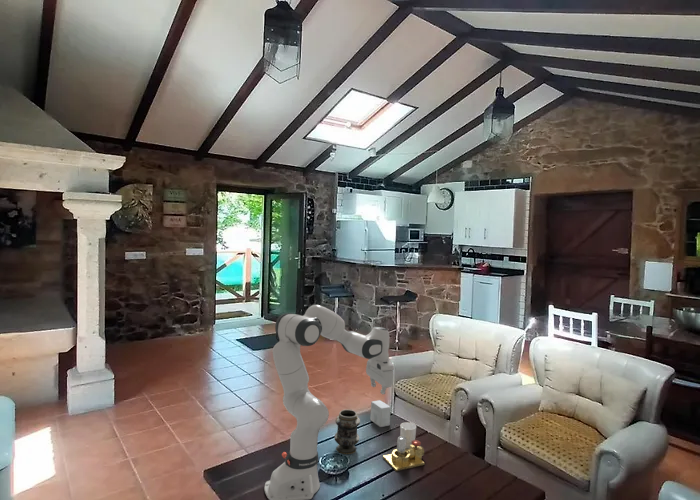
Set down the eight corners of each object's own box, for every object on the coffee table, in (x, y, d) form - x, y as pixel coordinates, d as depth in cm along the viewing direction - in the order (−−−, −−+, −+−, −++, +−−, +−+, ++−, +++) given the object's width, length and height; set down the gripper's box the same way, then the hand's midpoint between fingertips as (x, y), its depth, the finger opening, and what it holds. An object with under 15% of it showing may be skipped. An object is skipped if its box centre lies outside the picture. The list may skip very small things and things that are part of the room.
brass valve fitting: (395, 471, 195) (396, 454, 194) (382, 457, 206) (383, 441, 205) (428, 463, 202) (429, 447, 202) (414, 451, 213) (415, 435, 212)
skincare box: (390, 425, 239) (391, 406, 239) (380, 427, 236) (381, 408, 236) (379, 417, 249) (380, 399, 248) (369, 419, 245) (370, 401, 245)
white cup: (397, 446, 217) (397, 426, 216) (402, 439, 224) (403, 420, 223) (412, 451, 213) (413, 431, 212) (417, 444, 220) (418, 424, 219)
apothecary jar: (358, 456, 206) (360, 419, 205) (333, 455, 206) (334, 417, 205) (358, 443, 218) (360, 408, 217) (334, 442, 218) (335, 407, 217)
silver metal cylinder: (399, 462, 200) (400, 441, 200) (394, 458, 204) (395, 437, 203) (406, 461, 202) (408, 439, 201) (402, 456, 205) (403, 435, 205)
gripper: (363, 355, 214) (362, 383, 215) (383, 368, 195) (382, 399, 196) (374, 354, 217) (373, 381, 217) (395, 367, 198) (394, 397, 199)
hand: (378, 390), depth 207 cm, fingers open, 8 cm apart
